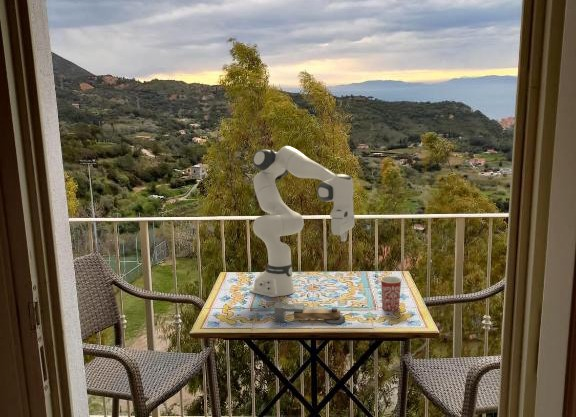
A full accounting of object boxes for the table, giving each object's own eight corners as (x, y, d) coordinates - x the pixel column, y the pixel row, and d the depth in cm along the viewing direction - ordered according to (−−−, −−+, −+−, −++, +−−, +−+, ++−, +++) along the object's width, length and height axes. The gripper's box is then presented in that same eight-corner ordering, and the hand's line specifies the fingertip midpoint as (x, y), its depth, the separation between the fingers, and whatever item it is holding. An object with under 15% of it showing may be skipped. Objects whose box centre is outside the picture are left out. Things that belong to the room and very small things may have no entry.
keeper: (304, 316, 229) (304, 302, 228) (303, 322, 222) (302, 308, 221) (276, 315, 230) (276, 301, 229) (274, 322, 223) (274, 307, 222)
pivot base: (320, 322, 222) (320, 320, 222) (328, 315, 230) (328, 312, 230) (340, 325, 218) (340, 323, 218) (348, 318, 226) (348, 315, 226)
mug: (403, 311, 231) (404, 282, 229) (383, 312, 231) (383, 283, 228) (395, 301, 244) (396, 273, 242) (376, 302, 243) (376, 274, 241)
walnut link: (340, 315, 226) (340, 306, 225) (340, 319, 221) (340, 311, 220) (294, 314, 227) (294, 306, 227) (293, 319, 222) (293, 310, 222)
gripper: (345, 206, 248) (345, 235, 250) (328, 214, 230) (328, 245, 232) (357, 207, 245) (357, 236, 248) (342, 215, 227) (342, 246, 229)
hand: (343, 240), depth 240 cm, fingers closed
